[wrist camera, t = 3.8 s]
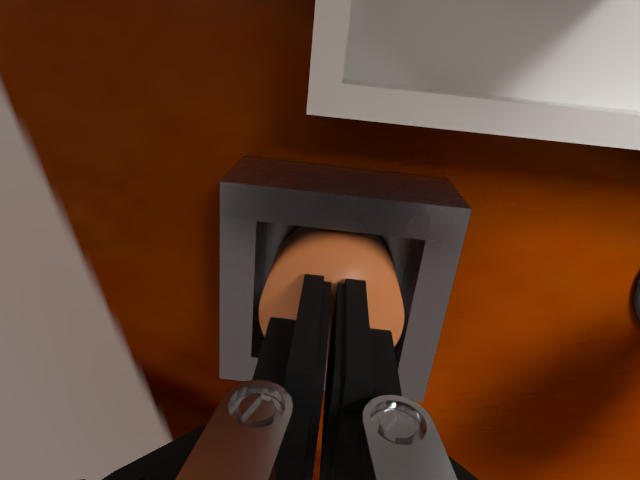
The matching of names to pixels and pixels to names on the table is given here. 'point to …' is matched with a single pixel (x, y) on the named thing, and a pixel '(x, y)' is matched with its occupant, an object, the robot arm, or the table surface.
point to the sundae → (637, 300)
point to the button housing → (346, 215)
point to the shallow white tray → (482, 66)
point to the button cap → (334, 276)
